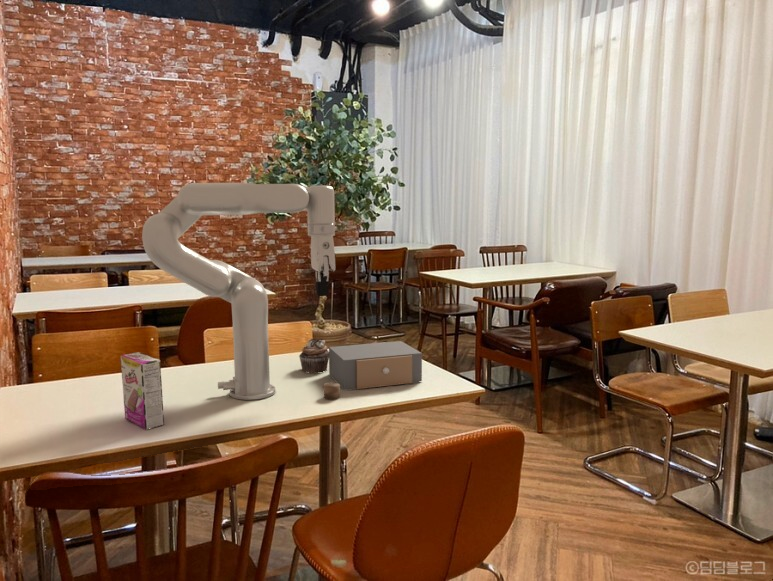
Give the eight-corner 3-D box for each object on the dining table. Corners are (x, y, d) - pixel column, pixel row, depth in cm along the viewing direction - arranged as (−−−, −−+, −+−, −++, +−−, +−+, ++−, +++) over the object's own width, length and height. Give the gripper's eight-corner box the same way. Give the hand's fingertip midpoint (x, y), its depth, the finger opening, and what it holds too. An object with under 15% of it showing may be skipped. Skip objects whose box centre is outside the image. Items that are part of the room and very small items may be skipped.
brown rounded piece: (326, 400, 164) (325, 388, 163) (322, 395, 168) (322, 383, 167) (341, 398, 165) (341, 386, 165) (337, 394, 169) (337, 382, 169)
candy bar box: (123, 419, 149) (119, 355, 147) (143, 414, 153) (139, 351, 151) (145, 431, 142) (141, 363, 140) (165, 425, 146) (161, 359, 143)
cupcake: (300, 366, 198) (299, 336, 197) (329, 365, 199) (329, 335, 198) (298, 374, 189) (298, 343, 187) (330, 373, 190) (329, 342, 188)
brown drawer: (413, 383, 178) (413, 356, 177) (358, 390, 172) (358, 361, 171) (392, 368, 194) (392, 343, 193) (341, 373, 189) (340, 347, 187)
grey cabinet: (421, 381, 181) (421, 353, 180) (344, 390, 173) (344, 360, 172) (401, 367, 197) (401, 341, 195) (329, 374, 189) (328, 347, 187)
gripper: (341, 231, 163) (342, 298, 165) (327, 229, 177) (328, 291, 179) (314, 231, 160) (315, 300, 163) (302, 229, 174) (303, 292, 177)
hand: (322, 295), depth 171 cm, fingers closed
